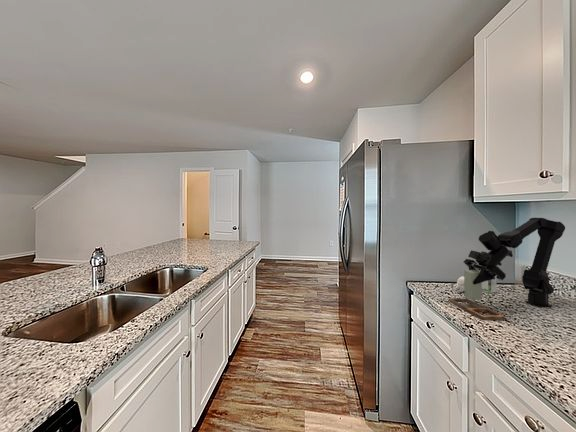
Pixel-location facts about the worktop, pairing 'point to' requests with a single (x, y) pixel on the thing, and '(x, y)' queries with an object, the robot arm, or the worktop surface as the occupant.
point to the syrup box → (489, 285)
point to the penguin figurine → (460, 284)
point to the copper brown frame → (477, 309)
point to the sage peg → (472, 285)
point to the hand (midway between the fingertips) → (469, 282)
